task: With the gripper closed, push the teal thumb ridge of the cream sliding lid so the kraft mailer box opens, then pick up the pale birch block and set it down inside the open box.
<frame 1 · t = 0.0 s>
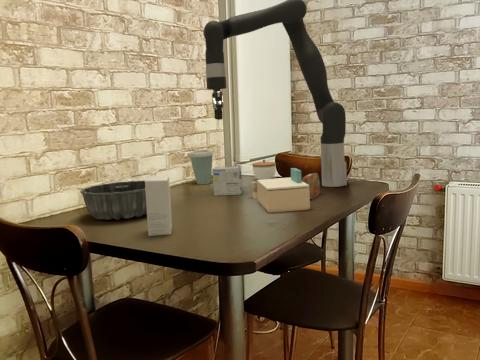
hand: (218, 119, 187), 29 cm above the table, tool pointing down, fingers open, 8 cm apart
birch block: (259, 197, 180), on the table
disposable coffee cup: (203, 183, 222), on the table
bundt pan: (124, 215, 164), on the table
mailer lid: (281, 177, 163), point 10 cm above the table, slide at 0.0 cm
skincare box: (161, 232, 138), on the table
light bulb box: (228, 194, 192), on the table
mailer box: (282, 205, 164), on the table
lidded jar: (264, 180, 222), on the table
brown flat slab: (311, 197, 176), on the table
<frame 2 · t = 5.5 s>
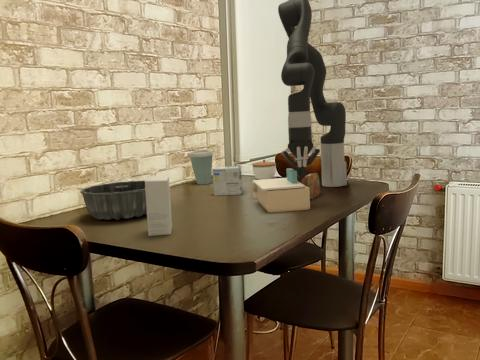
hand: (301, 178, 162), 9 cm above the table, tool pointing down, fingers closed
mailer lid: (277, 177, 162), point 10 cm above the table, slide at 1.5 cm, touching gripper
everything else where it was.
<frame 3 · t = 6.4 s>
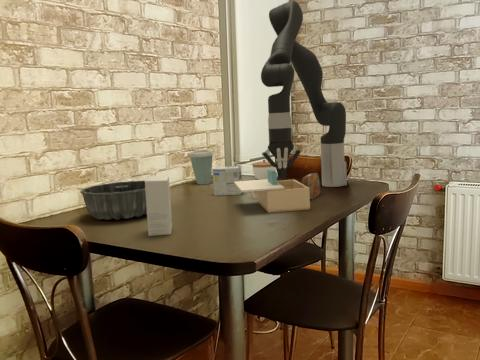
hand: (282, 179, 161), 9 cm above the table, tool pointing down, fingers closed
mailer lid: (257, 179, 161), point 10 cm above the table, slide at 8.1 cm, touching gripper
everything else where it was.
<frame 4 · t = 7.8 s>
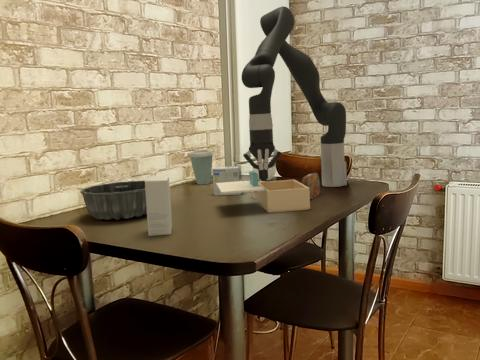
hand: (263, 180, 160), 9 cm above the table, tool pointing down, fingers closed
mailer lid: (238, 180, 161), point 10 cm above the table, slide at 14.4 cm, touching gripper
everything else where it was.
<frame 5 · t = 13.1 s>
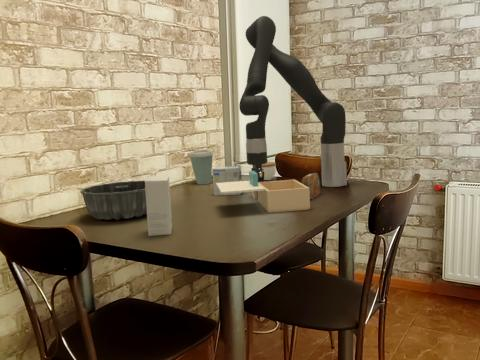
hand: (258, 196, 180), 0 cm above the table, tool pointing down, fingers closed on birch block, 4 cm apart
birch block: (258, 197, 181), on the table, touching gripper
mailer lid: (238, 180, 161), point 10 cm above the table, slide at 14.4 cm
everything else where it was.
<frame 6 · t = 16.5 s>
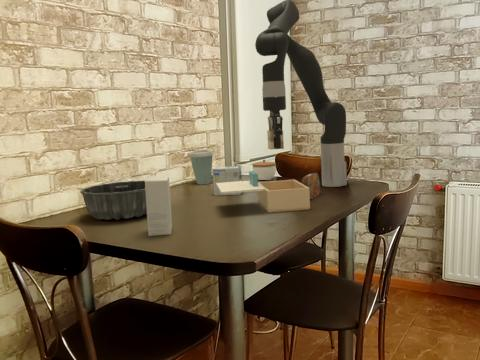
hand: (276, 147, 162), 20 cm above the table, tool pointing down, fingers closed on birch block, 4 cm apart
birch block: (275, 148, 162), point 19 cm above the table, touching gripper
everything else where it was.
when the fingers open (3 cm above the table, at t = 20.2 s): birch block drops 2 cm, resting on mailer box.
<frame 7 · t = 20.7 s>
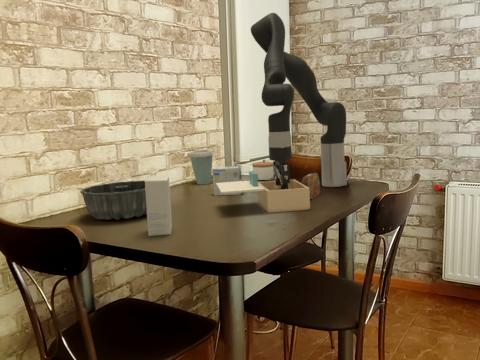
hand: (282, 193, 163), 4 cm above the table, tool pointing down, fingers open, 8 cm apart
birch block: (282, 203, 164), point 1 cm above the table, touching mailer box
everything else where it was.
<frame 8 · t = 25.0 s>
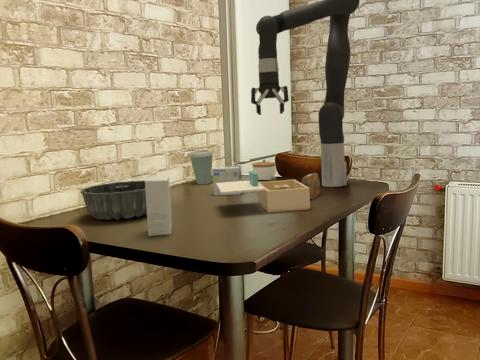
hand: (270, 114, 188), 30 cm above the table, tool pointing down, fingers open, 8 cm apart
nothing on the table moved.
at the end: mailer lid slide at 14.4 cm; birch block inside the target area on the mailer box (0.1 cm from its centre), point 0.6 cm above the mailer box's base; birch block tilted 0° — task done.
